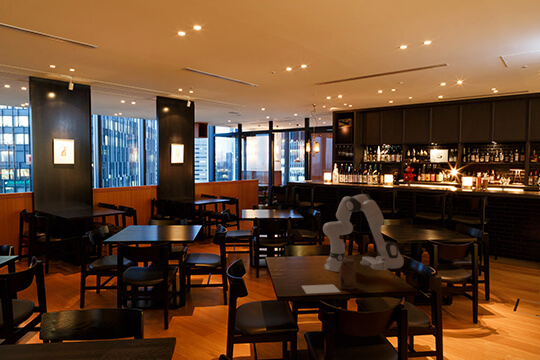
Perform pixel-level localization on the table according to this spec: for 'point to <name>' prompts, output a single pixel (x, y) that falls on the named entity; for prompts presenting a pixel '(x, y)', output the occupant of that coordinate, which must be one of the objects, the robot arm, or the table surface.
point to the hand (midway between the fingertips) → (361, 263)
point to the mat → (320, 289)
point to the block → (347, 274)
